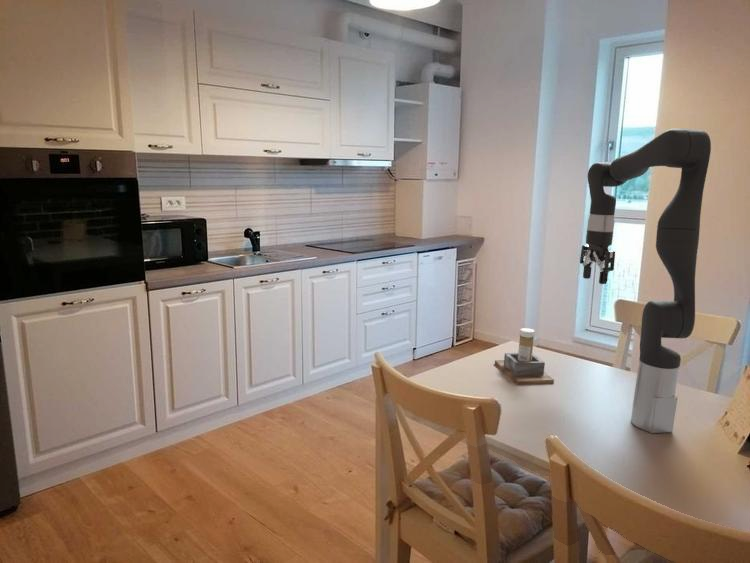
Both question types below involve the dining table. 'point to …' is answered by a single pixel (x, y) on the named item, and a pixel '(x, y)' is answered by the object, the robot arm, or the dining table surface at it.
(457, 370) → the dining table surface
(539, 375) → the socket holder
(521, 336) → the sprinkles bottle
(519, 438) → the dining table surface
